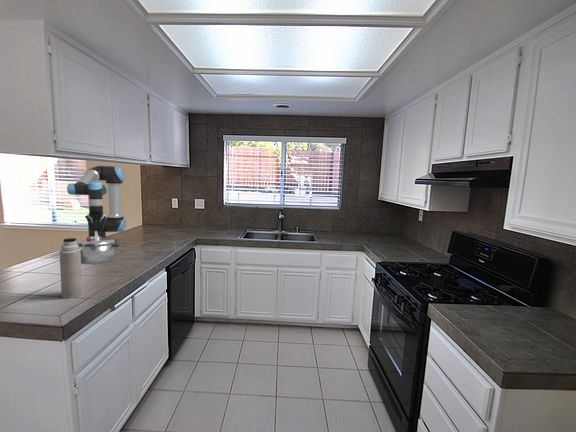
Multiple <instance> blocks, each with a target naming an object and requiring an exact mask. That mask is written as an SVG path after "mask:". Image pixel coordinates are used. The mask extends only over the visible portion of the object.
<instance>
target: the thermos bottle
mask: <svg viewBox="0 0 576 432" xmlns="http://www.w3.org/2000/svg"><path fill="white" fill-rule="evenodd" d="M62 244H63V245H61V247H60V250H59V267H60V269H59V270H60V271H59V272H60V289H61V291H60V292H61V298H63V299H74V298H77V297H80V296H82V294H83V282H82V261H81V260H82V257H81V256H82V255H81V254H82V253H81V252H82V251H81V249H80V247H79V246H78V245H77V244H78V243H77V238H74V237H71V238H64V239H63V243H62Z"/></svg>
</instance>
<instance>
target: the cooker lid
mask: <svg viewBox="0 0 576 432" xmlns="http://www.w3.org/2000/svg"><path fill="white" fill-rule="evenodd" d="M85 238H86V240H85V239H83V240H81V241H80V242H81V244H82V245H85V247H93V246H101V245H108V244H112V243H114V244H115V242H116V241H115V239H114V238H111V237H107V238H99V240H98V241H95V238H93V239H91V237H85Z"/></svg>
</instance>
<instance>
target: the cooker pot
mask: <svg viewBox="0 0 576 432" xmlns="http://www.w3.org/2000/svg"><path fill="white" fill-rule="evenodd" d="M76 244H77V245H78V246H79V248H81V249H82V251H81V252H82V253H81V254H82V263H83V264H86V265H101V264H107V263H111V262H114V260H115V248H119V247H120V243H115V242H114V243H112V244H108V245H101V246H93V247H85V245H82V244H81V243H80V242H79V243H76Z"/></svg>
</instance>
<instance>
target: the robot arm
mask: <svg viewBox="0 0 576 432" xmlns="http://www.w3.org/2000/svg"><path fill="white" fill-rule="evenodd" d="M125 177H126V176H125V171H124V169H123V168H122V167H120V166H115V165H114V166H112V165H108V166H107V165H97V166H93V167H91V168H89V169H87V170H86V171H85V172H84V175H83V176H81V177H80V178H79V179H78V180H77V181H76V182H75V183H68V184H67V186H66V191H67V193H68V195H72V196H73V195H74V196H88V203H89V204H88V207H89V209H88V212H89V213H88V214H87V215H85V216H84V218H85V219H86V220H87V227H88V228H87V229H88V237H95V241H98V240H99V237H101V238H108V237H107V235H106V234H107V233H121V232H124V231H125V229H126V225H127V218H126V217H125V216H124V215H123V214H122V195H121V193H122V192H121V189H122V188H121V185H122V184H123V182H125ZM100 181H105V184H106V185H107V186H106V185H105V184H103V183H102V182H100ZM107 193H108V209H109V210H108V211H109V212H108V213H109V214H108V215H105V213H104V206H103V205H104V202H103V198H104V197H103V196H105V195H106V194H107Z"/></svg>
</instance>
